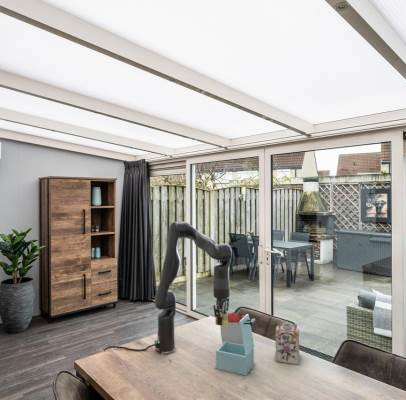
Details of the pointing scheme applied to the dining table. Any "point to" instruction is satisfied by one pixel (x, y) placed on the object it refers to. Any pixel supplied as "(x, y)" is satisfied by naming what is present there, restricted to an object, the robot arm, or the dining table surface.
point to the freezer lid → (247, 333)
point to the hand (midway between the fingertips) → (221, 323)
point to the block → (223, 319)
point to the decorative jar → (287, 343)
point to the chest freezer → (234, 358)
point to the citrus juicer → (232, 330)
